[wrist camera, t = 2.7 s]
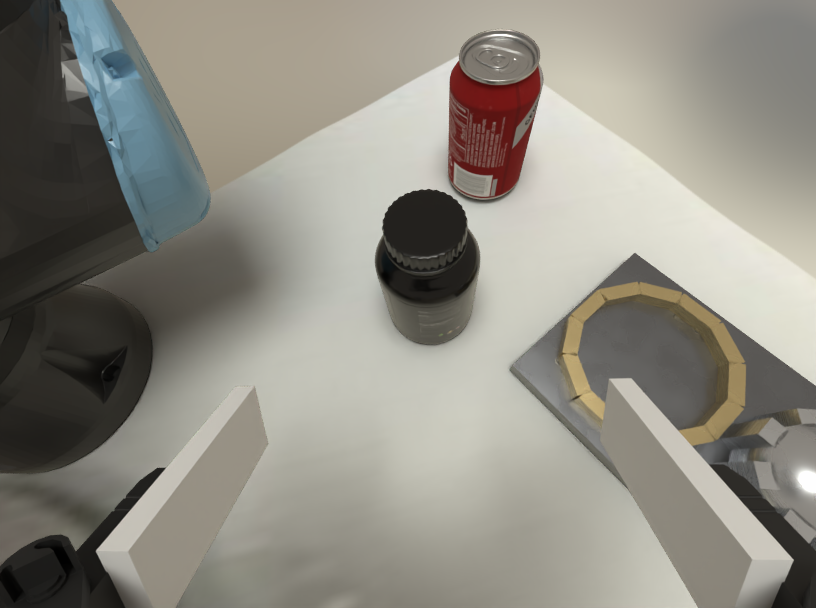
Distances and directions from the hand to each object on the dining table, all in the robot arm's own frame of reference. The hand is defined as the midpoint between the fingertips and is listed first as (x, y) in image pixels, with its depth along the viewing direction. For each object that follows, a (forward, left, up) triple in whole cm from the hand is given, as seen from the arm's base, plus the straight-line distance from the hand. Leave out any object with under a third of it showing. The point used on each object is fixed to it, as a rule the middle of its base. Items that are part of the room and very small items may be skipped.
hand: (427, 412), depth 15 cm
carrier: (+10, +15, -15) cm, 23 cm away
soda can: (-15, +20, -15) cm, 29 cm away
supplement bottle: (-8, +7, -15) cm, 18 cm away
